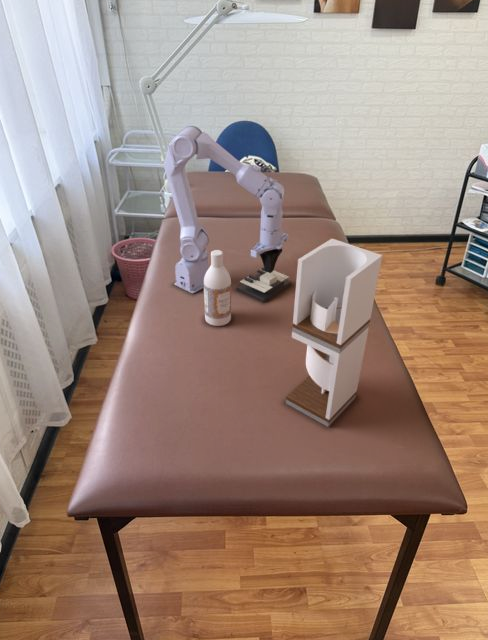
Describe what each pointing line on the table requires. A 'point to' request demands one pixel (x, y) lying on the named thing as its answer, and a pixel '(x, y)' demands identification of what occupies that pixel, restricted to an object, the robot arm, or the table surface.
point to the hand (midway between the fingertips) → (268, 271)
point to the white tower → (332, 325)
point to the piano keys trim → (262, 287)
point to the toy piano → (261, 295)
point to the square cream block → (268, 278)
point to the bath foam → (217, 291)
